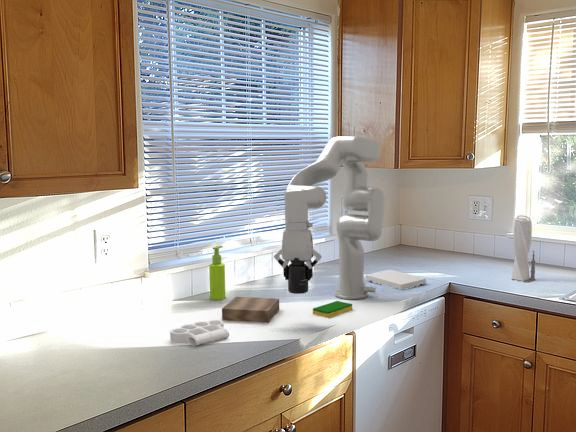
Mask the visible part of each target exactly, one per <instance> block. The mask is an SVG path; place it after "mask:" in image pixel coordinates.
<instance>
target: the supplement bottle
mask: <svg viewBox="0 0 576 432" xmlns="http://www.w3.org/2000/svg"><path fill="white" fill-rule="evenodd" d="M289 263H290V264H288V280H287V291H288V293H290V294H294V295H297V294H298V295H300V294H306V293H308V292H309V281H308V280H307V269H308V266H307V264H306V262H305V261H300V259H299V258H294V260H293V261H289Z"/></svg>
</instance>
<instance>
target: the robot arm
mask: <svg viewBox="0 0 576 432" xmlns="http://www.w3.org/2000/svg"><path fill="white" fill-rule="evenodd" d="M381 148H382V147H381V144H380V143H379V141H378V140H377V139H375V138H371V137H364V136H359V135H358V136H357V135H353V136H352V135H350V136H349V135H343V136H341V135H339V136H333V137H332V138H330V139H329V140H328V142H327V143H326V145H325V146H324V148H323V149H322V151H321V152H320V155H319V156H318V158H317V159H316V161H315V162H313V163H312V164H310V165H308V166H306V167H304V168H303V169H301V170H300V171H299V172H297V173H296V174H295V175H294V176H293V177H292V179H291V180H290V182H289V183H288V185H287V187H286V189H285V192H284V220H285V221H284V223H285V224H284V225H285V226H284V227H285V229H284V230H283V233H282V241H281V249H280V250H278V252H277V253H275V254H274V255H273V258H274V259H275V260H276V262H277V263H278V264H279V265H280V266H281V267H282V269H283V278H284V279H285V281H288V266H289V263H290V261H293V260H294V258H299V259H300V261H305V264H307V266H308V269H307V280H308V282H309V281H311V279H313V274H314V273H313V268H314V267H315V266H316V265H317V264H318V262H319V261H320V260H321V259H322V255H321V254H320V253H319V252H318V251H316V249H315V248H314V241H313V234H312V230H311V229H310V228H313V223H312V222H310V220H309V210H310V209H313V210H314V209H315V210H317V209H319V208H321V207H323V206H324V205H325V204H326V201H327V193H326V191H325V190H324V189H323V188H322V187H320V186H316V185H317V184H319V183H323V182H326V181H329V180H331V179H333V178H335V177H336V176H337V174H338V172H339V171H340V169H341V167H343V169H344V174H345V177H344V179H345V180H344V189H343V207H344V209H346V210H347V211H352V212H353V211H354V212H367V214H368V215H365V214H353V213H352V214H351V213H350V214H346V213H345V214H343V215H340V217H338V219H337V221H336V234H337V237H338V238H337V239H338V252H339V253H338V257H339V258H338V260H339V261H338V267H339V269H338V276H339V277H338V279H339V281H338V282H339V283H338V290H336V291H334V295H335V297H337V298H339V299H343V300H344V299H345V300H361V299H366V298H367V297H368V296H369V293H373V294H375V293H376V287H374V286H367V285H366V282H365V249H364V247H363V244H362V242H361V241H366V242H376V241H378V240H379V239H380V238H381V236H382V235H383V234H382V233H383V227H384V217H385V205H386V197H385V193H384V191H383V190H382V189H381V188H380V187H377V186H368V178H369V176H368V175H369V174H368V171H367V170H368V169H366V167H365V165H364V164H363V163H374V162H376V161H377V160H378V159H379V158H380V156H381V151H382V150H381ZM314 257H315V259H314V260H313V261H312V258H314Z"/></svg>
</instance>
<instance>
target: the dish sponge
mask: <svg viewBox="0 0 576 432" xmlns="http://www.w3.org/2000/svg"><path fill="white" fill-rule="evenodd" d="M352 310H353V304H352V303H348V302H343V301H339V300H336V301H332V302H330V303H327V304H323V305H320V306H315V307H314V308H312V315H314V316H319V317H323V318H327V319H328V318H329V319H330V318H333V317H335V316H338V315H341V314H343V313H347V312H349V311H352Z"/></svg>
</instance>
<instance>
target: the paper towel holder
mask: <svg viewBox="0 0 576 432" xmlns="http://www.w3.org/2000/svg"><path fill="white" fill-rule="evenodd" d="M532 226H533V225H532V220H531V218H530V217H529V216H527V215H521V214H520V215H517V216H516V217H515V218H514V224H513V230H512V231H513V234H512V237H513V238H512V240H513V242H512V243H513V251H514V261H513V267H512V274H511V280H512V281H515V280H517V281H516V282H521V281H523V282H522V283H527V282H528V283H530V281H531V282H533V281H534V282H535V281H536V280H537V279H536V276H535V275H536V274H535V273H536V270H535V269H536V266H535V265H536V260H535V250H532V260H531V261H530V262H529V257H528V256H529V252H530V248H531V244H532V238H533V237H532V235H533V233H532V232H533V230H532ZM529 263H531V267H530V265H529Z"/></svg>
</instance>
